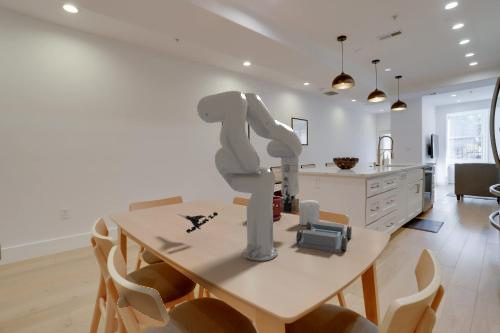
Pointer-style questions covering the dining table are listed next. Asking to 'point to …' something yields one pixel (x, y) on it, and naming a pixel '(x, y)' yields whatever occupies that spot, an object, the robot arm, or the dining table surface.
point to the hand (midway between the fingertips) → (289, 210)
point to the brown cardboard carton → (294, 206)
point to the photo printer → (309, 212)
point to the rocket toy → (197, 220)
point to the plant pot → (276, 208)
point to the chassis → (324, 236)
